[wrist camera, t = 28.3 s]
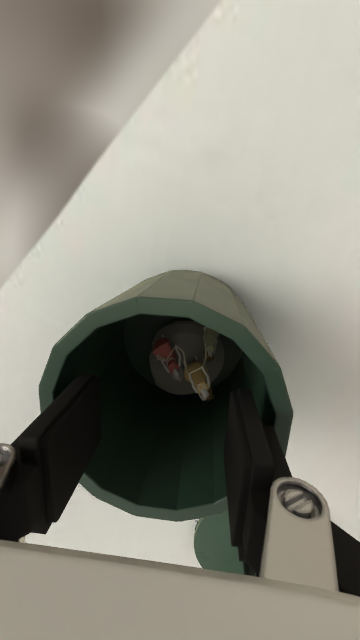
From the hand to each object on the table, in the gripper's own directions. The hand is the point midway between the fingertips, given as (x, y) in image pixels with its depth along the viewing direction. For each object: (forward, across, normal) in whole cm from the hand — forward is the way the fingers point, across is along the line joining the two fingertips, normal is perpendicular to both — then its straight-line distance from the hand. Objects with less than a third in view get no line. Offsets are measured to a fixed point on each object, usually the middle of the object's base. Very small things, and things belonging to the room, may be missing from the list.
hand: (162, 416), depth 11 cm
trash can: (+9, 0, 0) cm, 9 cm away
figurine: (+8, 0, 0) cm, 8 cm away
